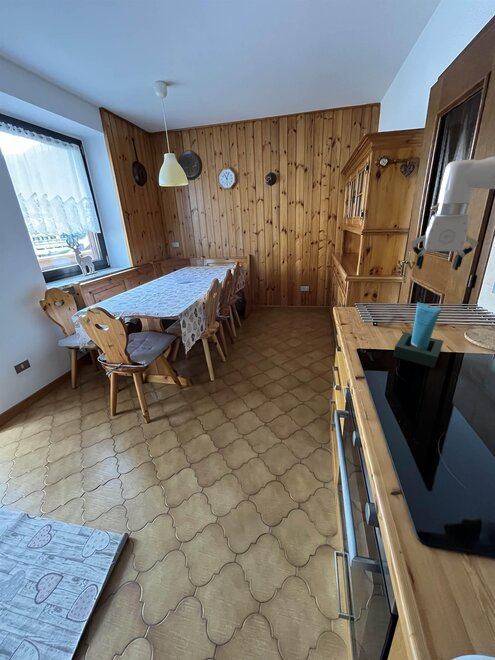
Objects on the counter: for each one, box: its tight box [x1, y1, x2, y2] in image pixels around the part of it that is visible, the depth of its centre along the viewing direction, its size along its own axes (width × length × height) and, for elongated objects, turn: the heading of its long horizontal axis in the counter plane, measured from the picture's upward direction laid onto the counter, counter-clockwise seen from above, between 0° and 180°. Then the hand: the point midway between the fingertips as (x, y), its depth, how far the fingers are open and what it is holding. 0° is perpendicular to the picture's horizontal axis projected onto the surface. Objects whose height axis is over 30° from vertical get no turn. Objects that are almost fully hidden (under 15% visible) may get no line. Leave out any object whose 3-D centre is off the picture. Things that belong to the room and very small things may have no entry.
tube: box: [409, 301, 442, 351], centre depth 95 cm, size 7×5×19 cm, turn 39°
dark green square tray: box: [392, 331, 444, 369], centre depth 98 cm, size 12×12×5 cm
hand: (436, 268), depth 89 cm, fingers open, 9 cm apart
